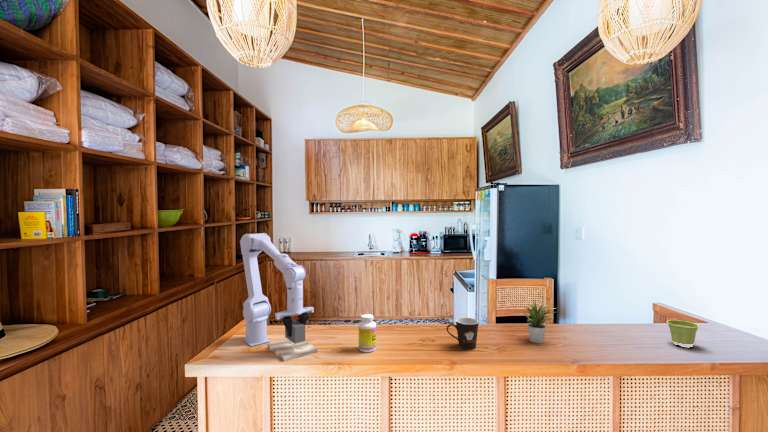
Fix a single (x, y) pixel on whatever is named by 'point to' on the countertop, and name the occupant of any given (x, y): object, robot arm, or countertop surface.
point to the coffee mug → (466, 332)
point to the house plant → (537, 322)
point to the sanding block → (296, 333)
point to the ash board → (291, 349)
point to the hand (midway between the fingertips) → (295, 334)
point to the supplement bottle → (367, 333)
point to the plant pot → (682, 331)
